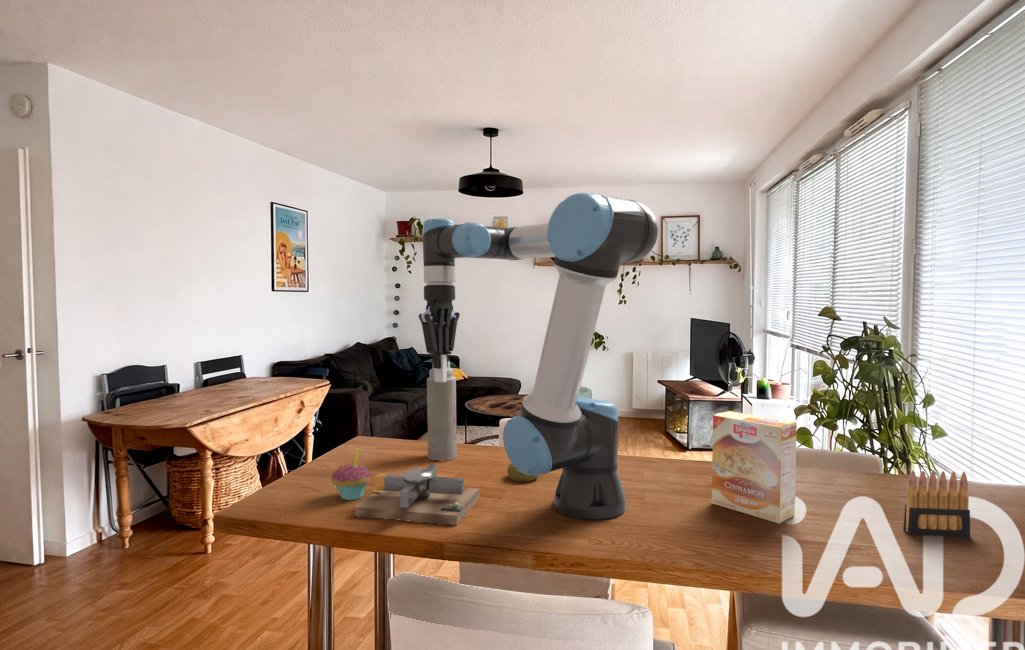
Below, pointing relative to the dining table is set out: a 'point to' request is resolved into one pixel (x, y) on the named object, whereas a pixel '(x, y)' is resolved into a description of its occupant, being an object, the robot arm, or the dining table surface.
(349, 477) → the cupcake
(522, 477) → the sculpture
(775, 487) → the coffeecake box
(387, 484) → the capstan
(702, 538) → the dining table surface
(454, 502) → the stand
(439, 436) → the thermos bottle
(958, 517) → the ammunition clip
